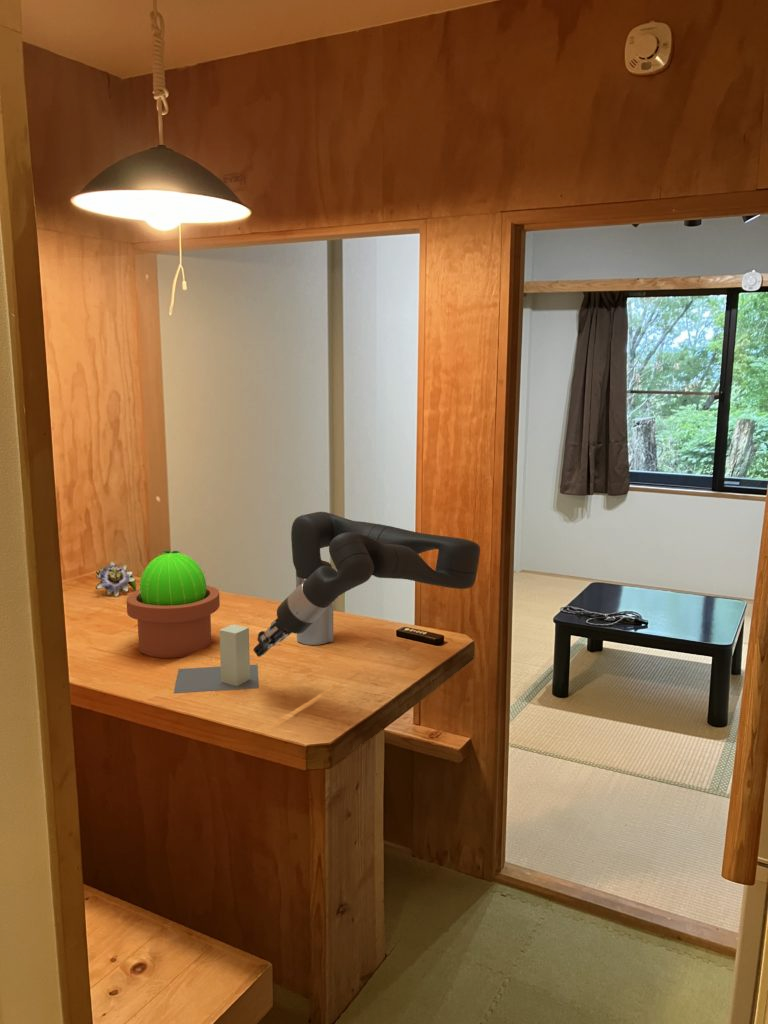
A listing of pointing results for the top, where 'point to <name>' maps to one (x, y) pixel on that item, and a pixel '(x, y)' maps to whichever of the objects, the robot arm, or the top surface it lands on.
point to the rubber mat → (210, 680)
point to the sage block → (234, 654)
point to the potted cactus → (173, 607)
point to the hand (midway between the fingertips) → (257, 652)
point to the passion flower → (115, 579)
